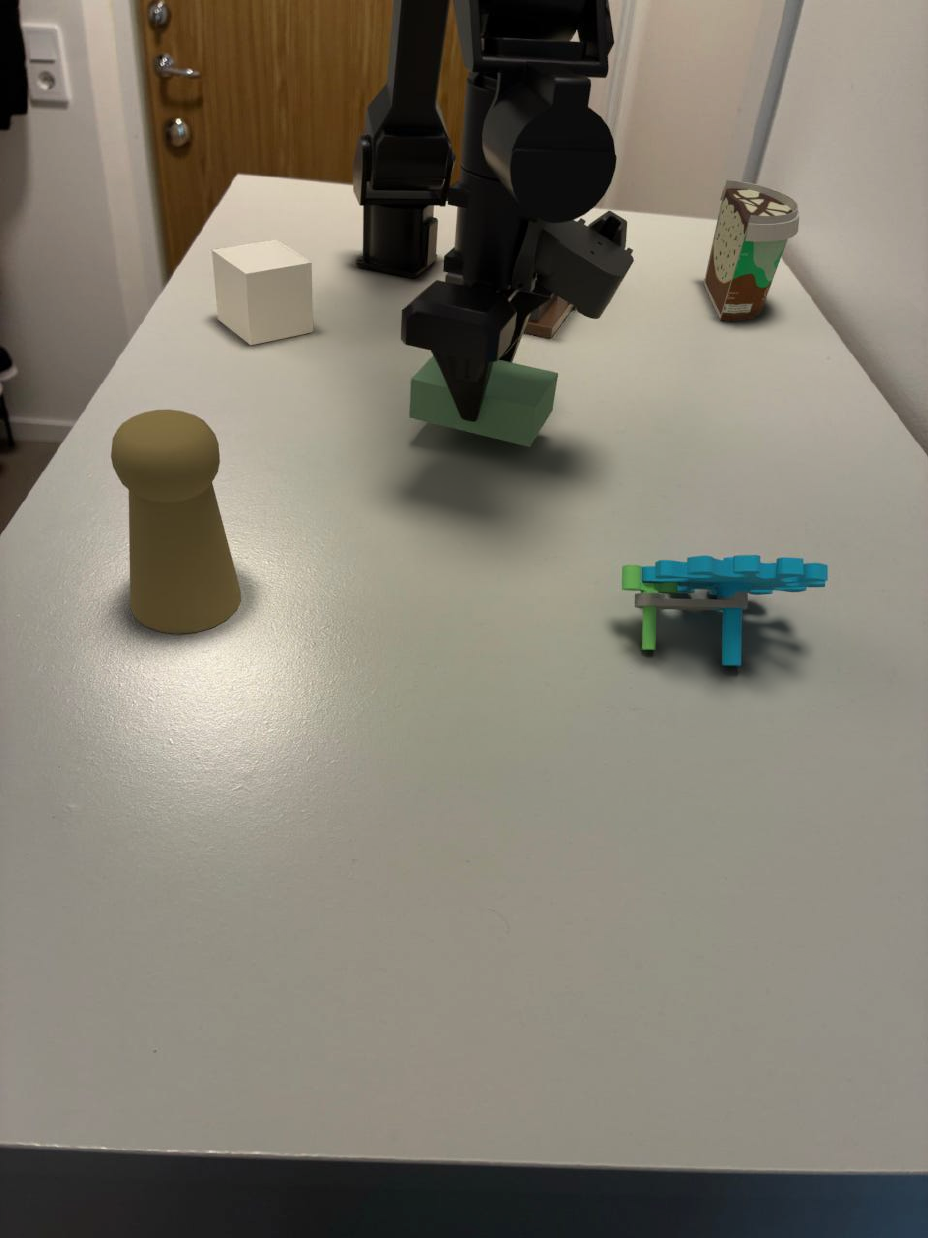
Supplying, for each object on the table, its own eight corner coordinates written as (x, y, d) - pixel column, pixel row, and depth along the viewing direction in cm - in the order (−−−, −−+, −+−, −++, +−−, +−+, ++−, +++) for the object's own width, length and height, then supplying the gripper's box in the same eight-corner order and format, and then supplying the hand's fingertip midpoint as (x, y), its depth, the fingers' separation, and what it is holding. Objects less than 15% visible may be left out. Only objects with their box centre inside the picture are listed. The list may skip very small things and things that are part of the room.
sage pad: (438, 383, 72) (441, 346, 70) (552, 410, 70) (558, 372, 68) (408, 417, 67) (410, 378, 65) (529, 447, 66) (535, 407, 64)
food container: (786, 331, 90) (820, 223, 84) (723, 326, 90) (751, 217, 84) (758, 284, 100) (787, 183, 93) (700, 278, 100) (725, 177, 93)
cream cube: (313, 332, 82) (312, 262, 78) (250, 345, 79) (245, 273, 75) (279, 307, 85) (276, 239, 82) (217, 319, 82) (211, 249, 79)
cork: (186, 648, 50) (160, 468, 43) (106, 604, 52) (68, 426, 45) (263, 592, 54) (251, 419, 47) (185, 553, 56) (162, 383, 49)
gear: (805, 573, 57) (852, 543, 47) (804, 672, 56) (852, 663, 46) (618, 570, 58) (626, 540, 48) (616, 666, 58) (623, 656, 48)
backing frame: (478, 258, 99) (481, 223, 97) (594, 281, 97) (600, 246, 94) (422, 310, 87) (424, 272, 85) (554, 339, 85) (559, 301, 82)
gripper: (600, 237, 49) (557, 491, 59) (663, 156, 63) (620, 374, 73) (402, 198, 52) (393, 450, 62) (504, 129, 66) (483, 343, 76)
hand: (483, 401), depth 68 cm, fingers closed on sage pad, 6 cm apart
